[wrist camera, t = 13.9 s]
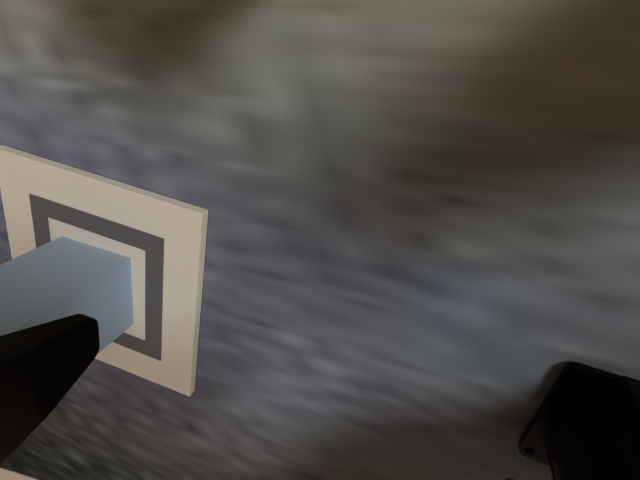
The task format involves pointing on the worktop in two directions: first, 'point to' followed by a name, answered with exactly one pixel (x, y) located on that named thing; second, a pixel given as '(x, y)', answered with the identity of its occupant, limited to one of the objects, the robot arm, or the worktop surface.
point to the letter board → (125, 239)
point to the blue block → (67, 288)
